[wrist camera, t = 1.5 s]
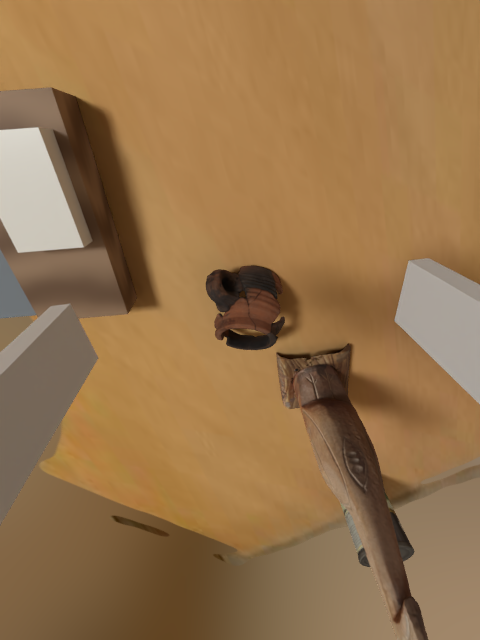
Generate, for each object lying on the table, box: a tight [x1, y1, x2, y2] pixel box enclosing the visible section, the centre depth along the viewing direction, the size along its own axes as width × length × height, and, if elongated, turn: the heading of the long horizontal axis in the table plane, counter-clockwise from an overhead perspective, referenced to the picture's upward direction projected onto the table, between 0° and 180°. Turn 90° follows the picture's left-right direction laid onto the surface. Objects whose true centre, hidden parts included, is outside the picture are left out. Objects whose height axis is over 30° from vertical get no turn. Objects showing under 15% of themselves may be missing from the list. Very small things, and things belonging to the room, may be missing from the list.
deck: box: [0, 88, 137, 318], centre depth 27 cm, size 20×10×4 cm, turn 4°
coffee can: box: [341, 493, 414, 567], centre depth 57 cm, size 10×10×14 cm
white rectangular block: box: [0, 127, 92, 253], centre depth 23 cm, size 9×6×2 cm, turn 4°
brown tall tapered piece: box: [276, 344, 428, 640], centre depth 30 cm, size 11×12×32 cm
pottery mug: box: [206, 266, 285, 350], centre depth 33 cm, size 12×10×8 cm
